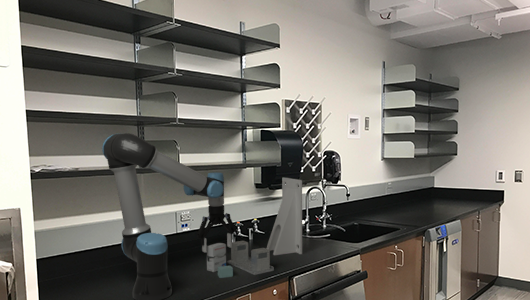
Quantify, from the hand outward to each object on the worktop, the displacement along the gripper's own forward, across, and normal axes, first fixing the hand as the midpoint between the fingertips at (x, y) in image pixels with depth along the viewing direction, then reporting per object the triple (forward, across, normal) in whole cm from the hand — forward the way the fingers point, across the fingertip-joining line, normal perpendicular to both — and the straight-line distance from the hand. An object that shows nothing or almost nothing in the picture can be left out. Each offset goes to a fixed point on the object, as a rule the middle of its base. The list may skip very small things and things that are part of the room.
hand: (217, 249), depth 199 cm
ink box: (+10, -1, 0) cm, 10 cm away
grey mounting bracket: (+10, +44, +7) cm, 46 cm away
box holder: (+10, +14, -6) cm, 18 cm away
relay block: (+10, -2, -11) cm, 15 cm away
